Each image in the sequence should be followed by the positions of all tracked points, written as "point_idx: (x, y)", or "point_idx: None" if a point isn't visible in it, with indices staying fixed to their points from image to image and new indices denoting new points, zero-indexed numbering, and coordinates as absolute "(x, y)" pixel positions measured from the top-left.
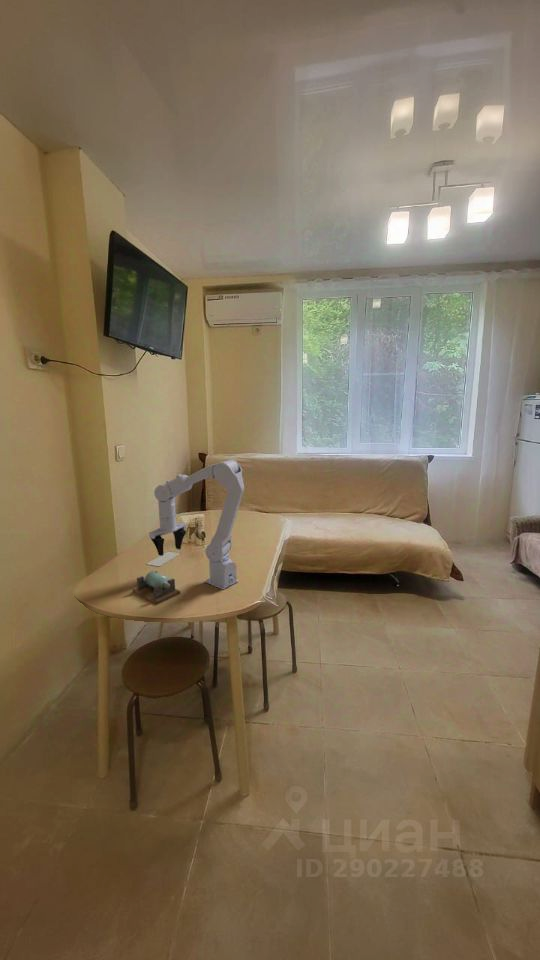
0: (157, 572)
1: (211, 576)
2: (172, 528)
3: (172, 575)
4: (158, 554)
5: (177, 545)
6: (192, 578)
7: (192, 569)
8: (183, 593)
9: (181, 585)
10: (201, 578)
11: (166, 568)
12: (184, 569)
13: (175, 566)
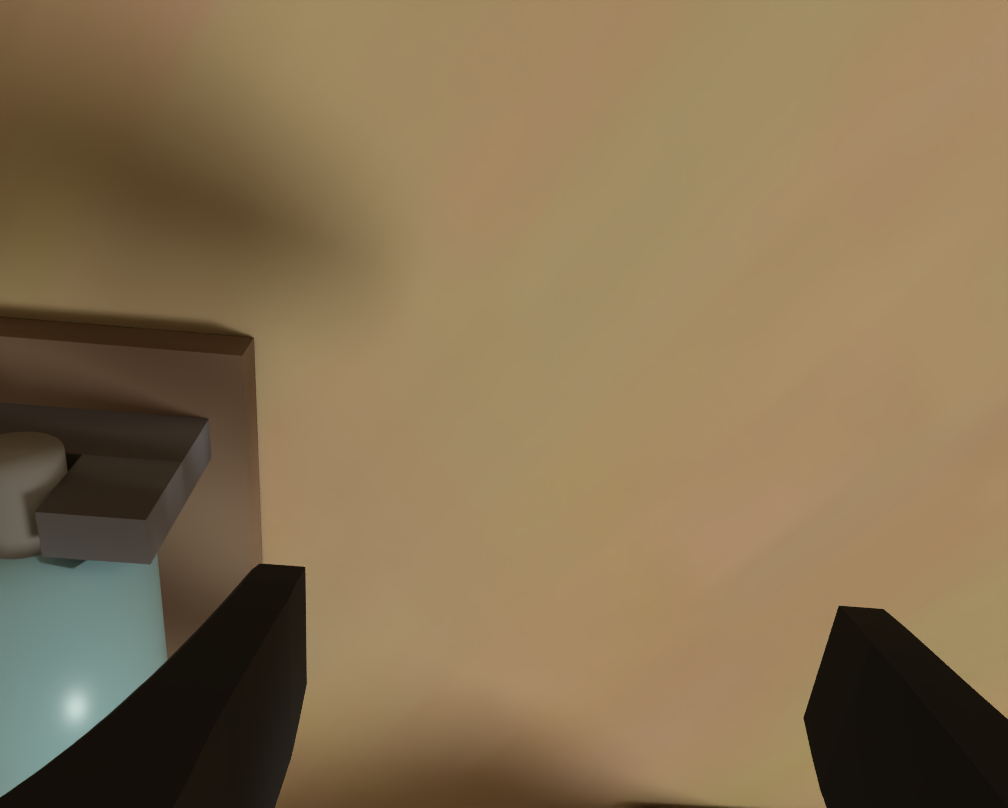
0: (152, 556)
1: None
2: None
3: (561, 367)
4: (247, 576)
5: (857, 747)
6: (639, 646)
7: (888, 460)
8: (298, 796)
9: (414, 668)
10: (697, 723)
11: (724, 44)
12: (834, 359)
13: (876, 125)
